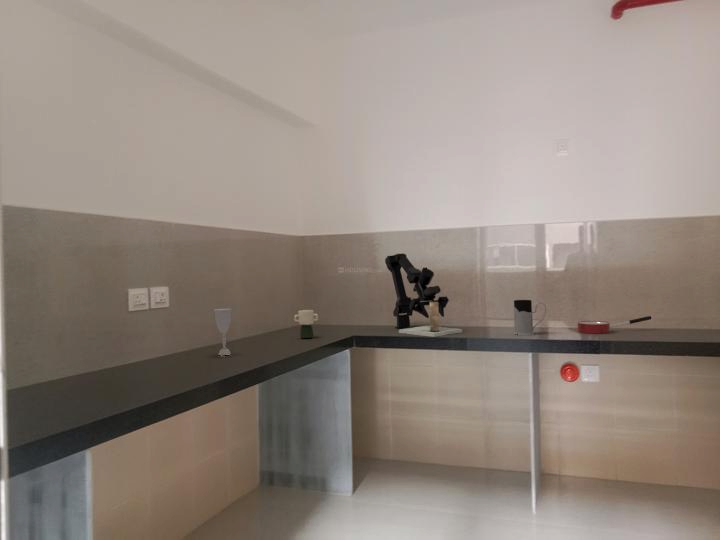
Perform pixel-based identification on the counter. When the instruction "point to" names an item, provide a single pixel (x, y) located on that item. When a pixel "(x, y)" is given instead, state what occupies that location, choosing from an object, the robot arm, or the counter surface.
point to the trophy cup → (306, 322)
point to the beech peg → (434, 317)
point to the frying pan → (603, 326)
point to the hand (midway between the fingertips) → (435, 317)
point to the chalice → (223, 326)
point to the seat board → (426, 331)
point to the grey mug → (524, 317)
